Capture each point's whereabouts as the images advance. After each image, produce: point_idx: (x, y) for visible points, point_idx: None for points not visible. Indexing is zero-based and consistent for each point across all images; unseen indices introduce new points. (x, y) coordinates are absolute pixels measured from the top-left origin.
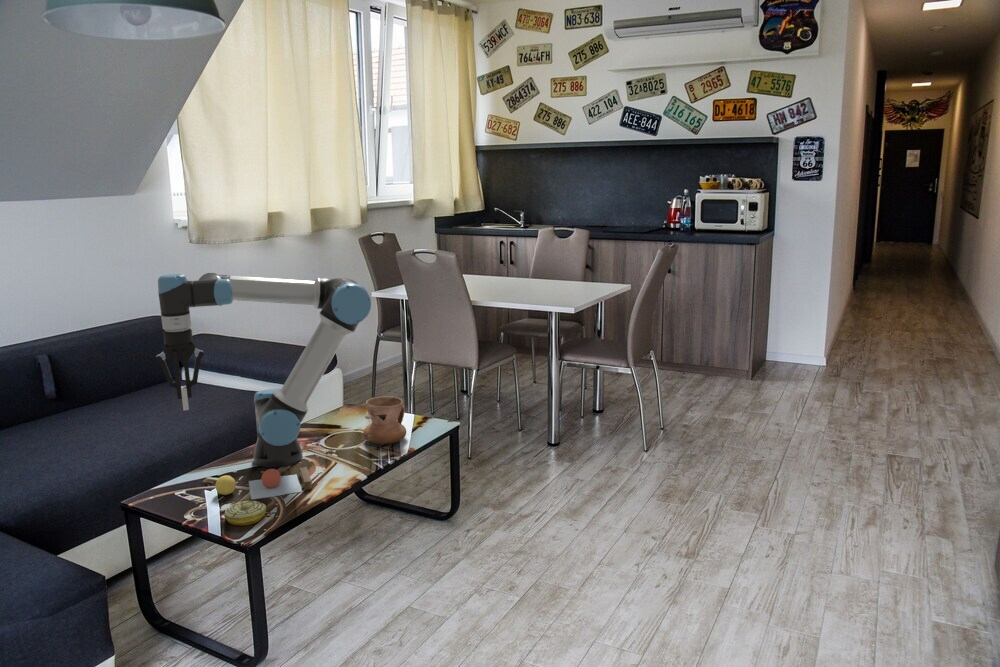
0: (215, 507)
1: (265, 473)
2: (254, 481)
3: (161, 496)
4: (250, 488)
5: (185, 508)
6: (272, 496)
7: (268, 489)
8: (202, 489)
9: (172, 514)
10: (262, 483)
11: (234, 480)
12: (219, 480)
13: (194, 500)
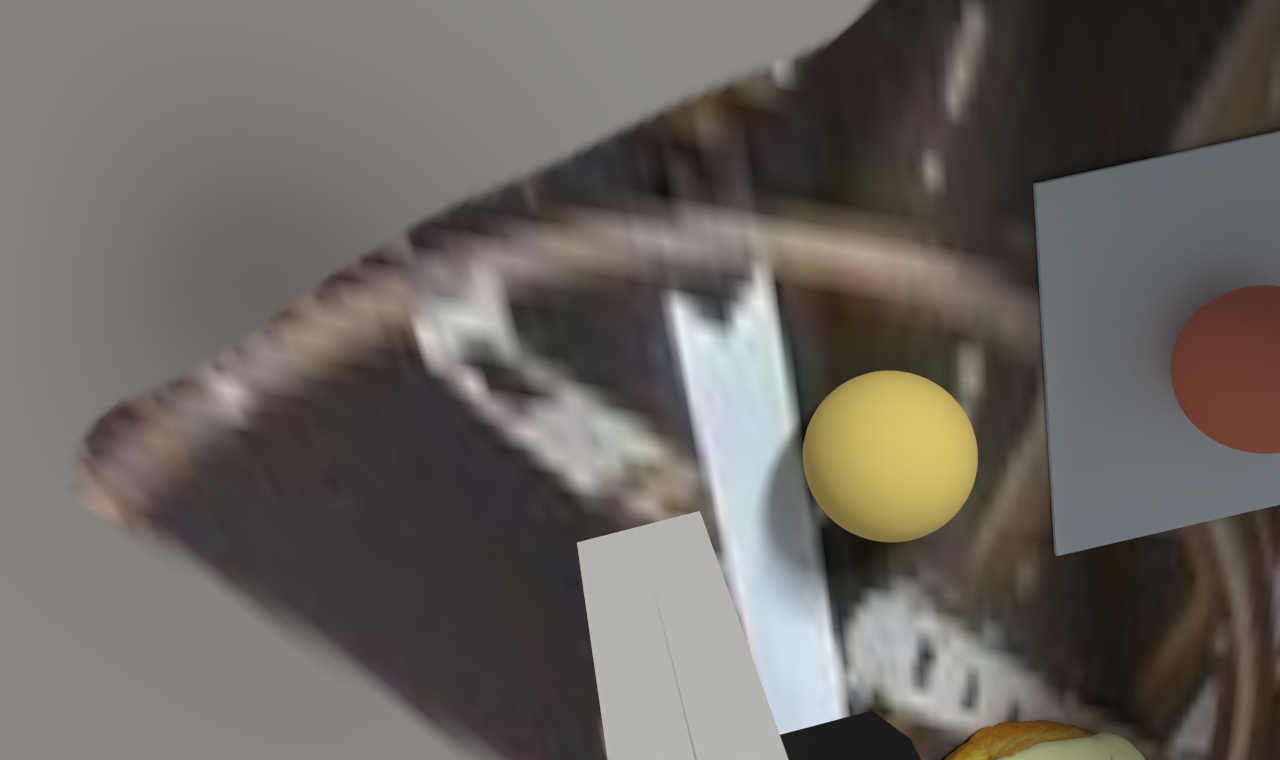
0: (805, 646)
1: (1257, 430)
2: (1085, 203)
3: (312, 386)
4: (1051, 354)
5: (586, 637)
6: (1203, 518)
7: None
8: (645, 289)
9: (514, 721)
10: (1149, 263)
11: (977, 461)
12: (865, 522)
13: (623, 506)
